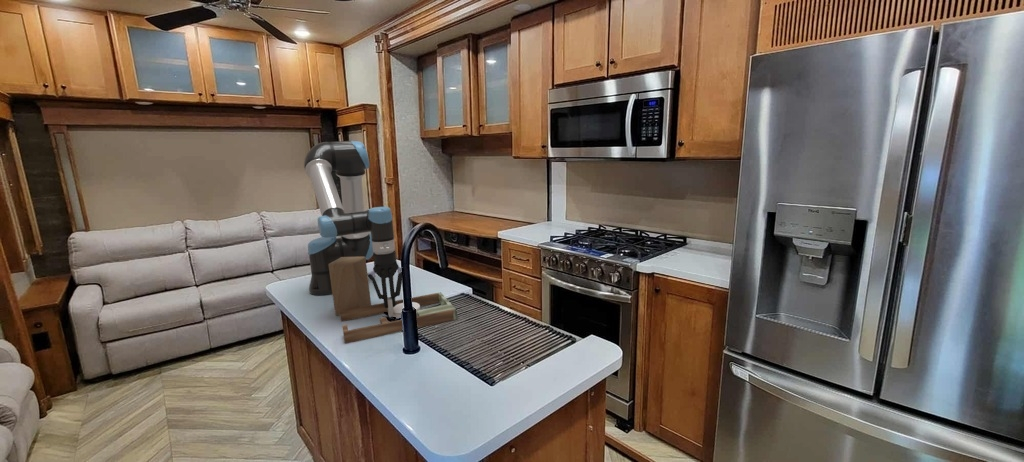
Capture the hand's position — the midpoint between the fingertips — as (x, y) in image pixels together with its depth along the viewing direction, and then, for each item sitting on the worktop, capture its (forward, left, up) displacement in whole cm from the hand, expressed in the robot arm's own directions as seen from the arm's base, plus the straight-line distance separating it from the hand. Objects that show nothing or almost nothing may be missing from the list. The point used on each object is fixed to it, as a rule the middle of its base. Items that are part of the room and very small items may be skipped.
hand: (391, 315), depth 152 cm
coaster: (-1, +6, -2) cm, 6 cm away
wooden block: (-17, -11, -2) cm, 20 cm away
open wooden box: (+2, +2, -2) cm, 3 cm away
